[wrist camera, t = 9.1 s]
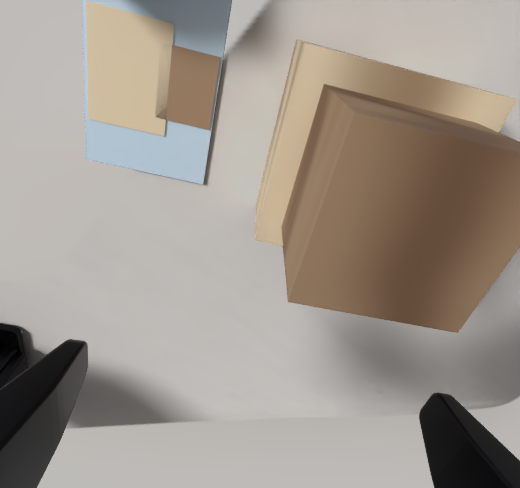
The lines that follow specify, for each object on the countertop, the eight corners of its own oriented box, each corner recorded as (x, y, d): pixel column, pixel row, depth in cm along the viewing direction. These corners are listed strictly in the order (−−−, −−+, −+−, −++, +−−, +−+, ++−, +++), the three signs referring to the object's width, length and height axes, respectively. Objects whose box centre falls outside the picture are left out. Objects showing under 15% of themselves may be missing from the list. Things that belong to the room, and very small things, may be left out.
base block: (256, 203, 19) (254, 240, 16) (296, 39, 15) (306, 43, 12) (391, 232, 20) (417, 273, 17) (463, 84, 16) (517, 99, 13)
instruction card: (88, 158, 18) (85, 159, 18) (82, -65, 14) (78, -67, 13) (203, 183, 19) (202, 185, 19) (235, -22, 14) (234, -23, 14)
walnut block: (281, 227, 16) (287, 301, 11) (323, 83, 13) (354, 112, 8) (406, 253, 16) (457, 332, 12) (476, 122, 13) (576, 167, 9)
